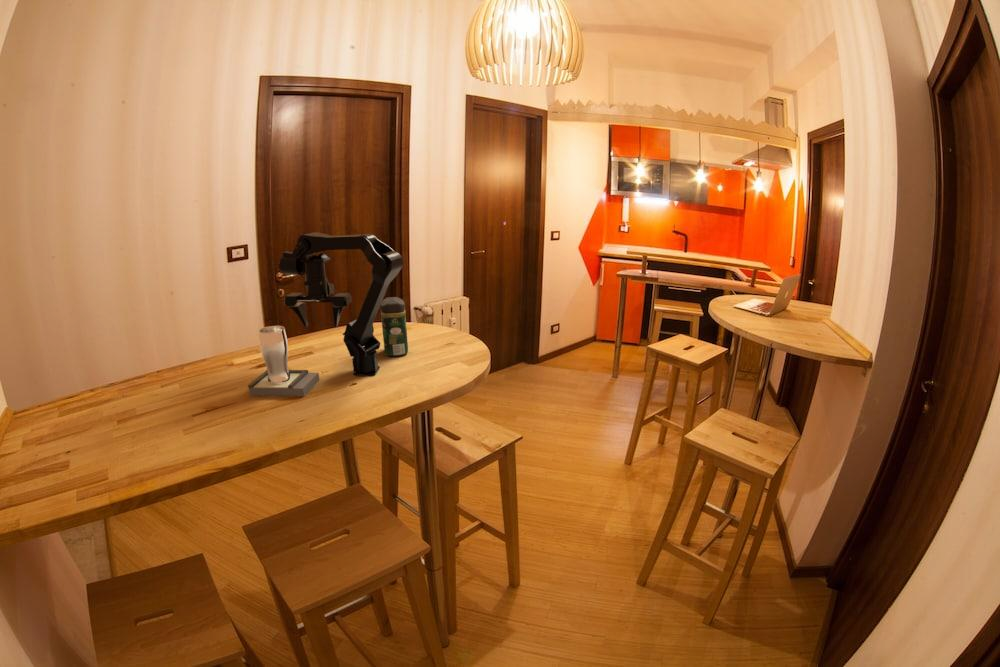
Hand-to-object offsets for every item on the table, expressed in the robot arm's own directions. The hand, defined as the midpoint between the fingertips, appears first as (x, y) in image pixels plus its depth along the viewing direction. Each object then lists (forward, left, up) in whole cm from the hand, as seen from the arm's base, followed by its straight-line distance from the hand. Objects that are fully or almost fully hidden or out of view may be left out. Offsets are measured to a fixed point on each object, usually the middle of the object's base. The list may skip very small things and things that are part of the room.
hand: (321, 326), depth 153 cm
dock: (+5, +16, -13) cm, 22 cm away
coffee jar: (-19, -13, -13) cm, 27 cm away
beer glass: (+7, +17, -10) cm, 21 cm away
